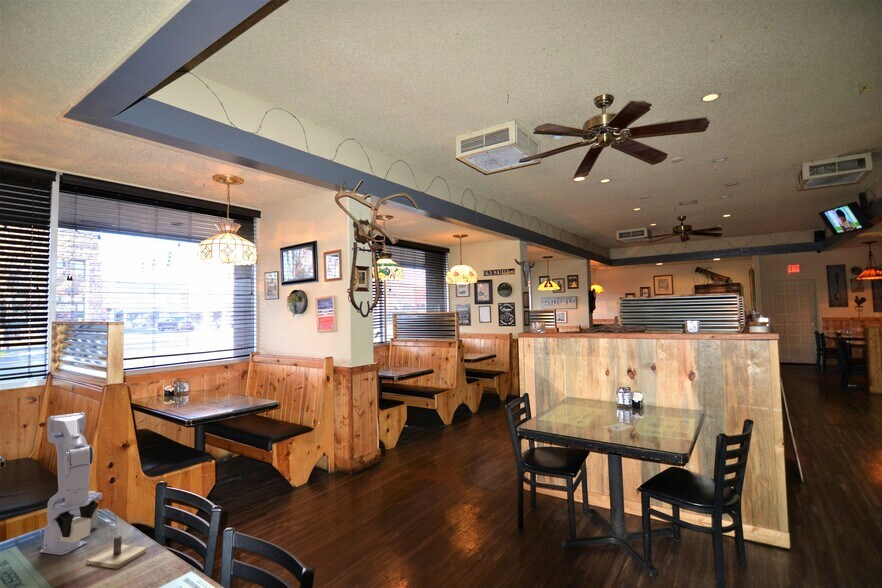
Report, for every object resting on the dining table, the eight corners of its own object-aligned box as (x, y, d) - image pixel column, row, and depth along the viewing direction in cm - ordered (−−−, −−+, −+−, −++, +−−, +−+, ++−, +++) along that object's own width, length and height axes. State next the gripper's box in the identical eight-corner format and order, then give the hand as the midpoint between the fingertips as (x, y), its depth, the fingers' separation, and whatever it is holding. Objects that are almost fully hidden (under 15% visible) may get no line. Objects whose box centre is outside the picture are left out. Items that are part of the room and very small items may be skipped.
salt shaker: (86, 533, 153) (87, 496, 154) (73, 532, 154) (74, 494, 155) (102, 526, 159) (103, 489, 159) (89, 524, 160) (91, 488, 160)
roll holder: (86, 564, 134) (86, 543, 134) (116, 547, 144) (117, 528, 144) (117, 568, 131) (118, 547, 132) (146, 551, 141) (147, 532, 142)
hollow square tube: (60, 540, 132) (61, 524, 132) (77, 532, 137) (78, 516, 137) (73, 542, 131) (73, 525, 131) (89, 534, 136) (90, 518, 136)
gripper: (62, 497, 127) (60, 545, 126) (110, 479, 141) (108, 522, 140) (44, 495, 128) (41, 542, 128) (93, 478, 142) (91, 520, 142)
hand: (75, 532), depth 134 cm, fingers closed on hollow square tube, 5 cm apart
